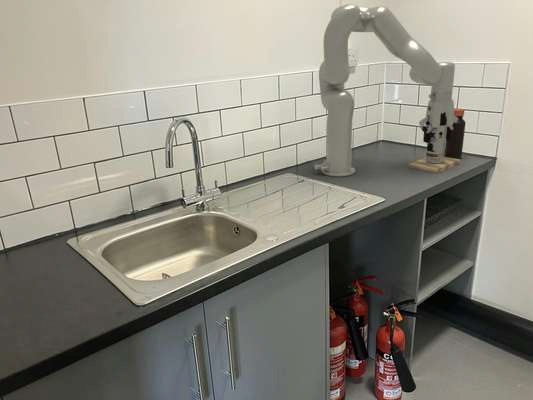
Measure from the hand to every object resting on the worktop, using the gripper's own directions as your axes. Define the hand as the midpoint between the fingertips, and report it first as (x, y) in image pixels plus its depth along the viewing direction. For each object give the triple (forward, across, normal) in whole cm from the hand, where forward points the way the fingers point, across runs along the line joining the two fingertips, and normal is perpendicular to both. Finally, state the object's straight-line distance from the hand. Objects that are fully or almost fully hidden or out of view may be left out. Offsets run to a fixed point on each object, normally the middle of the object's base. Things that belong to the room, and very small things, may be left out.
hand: (436, 141), depth 171 cm
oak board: (+10, 0, 0) cm, 10 cm away
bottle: (+10, +14, +6) cm, 18 cm away
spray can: (+8, 0, 0) cm, 8 cm away
